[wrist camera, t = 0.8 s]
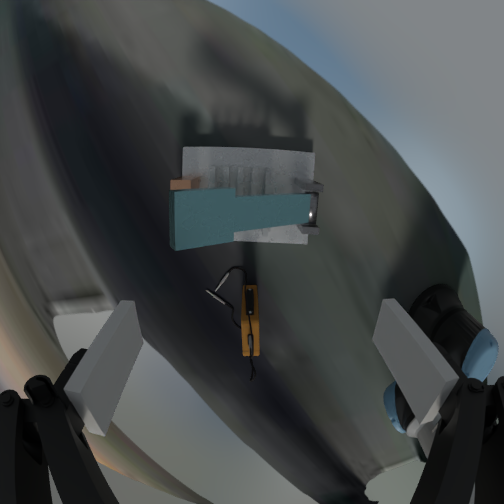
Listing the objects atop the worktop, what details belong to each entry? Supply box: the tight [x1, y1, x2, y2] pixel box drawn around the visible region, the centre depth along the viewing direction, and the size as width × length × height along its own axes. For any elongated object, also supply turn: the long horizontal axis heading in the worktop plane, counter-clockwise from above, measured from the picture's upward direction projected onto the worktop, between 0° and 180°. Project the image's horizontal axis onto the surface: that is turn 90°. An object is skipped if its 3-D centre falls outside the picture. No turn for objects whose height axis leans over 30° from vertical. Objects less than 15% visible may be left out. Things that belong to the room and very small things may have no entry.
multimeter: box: [206, 267, 259, 382], centre depth 46 cm, size 15×10×20 cm
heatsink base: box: [171, 147, 324, 244], centre depth 43 cm, size 22×16×12 cm
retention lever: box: [169, 187, 319, 251], centre depth 34 cm, size 21×6×2 cm
